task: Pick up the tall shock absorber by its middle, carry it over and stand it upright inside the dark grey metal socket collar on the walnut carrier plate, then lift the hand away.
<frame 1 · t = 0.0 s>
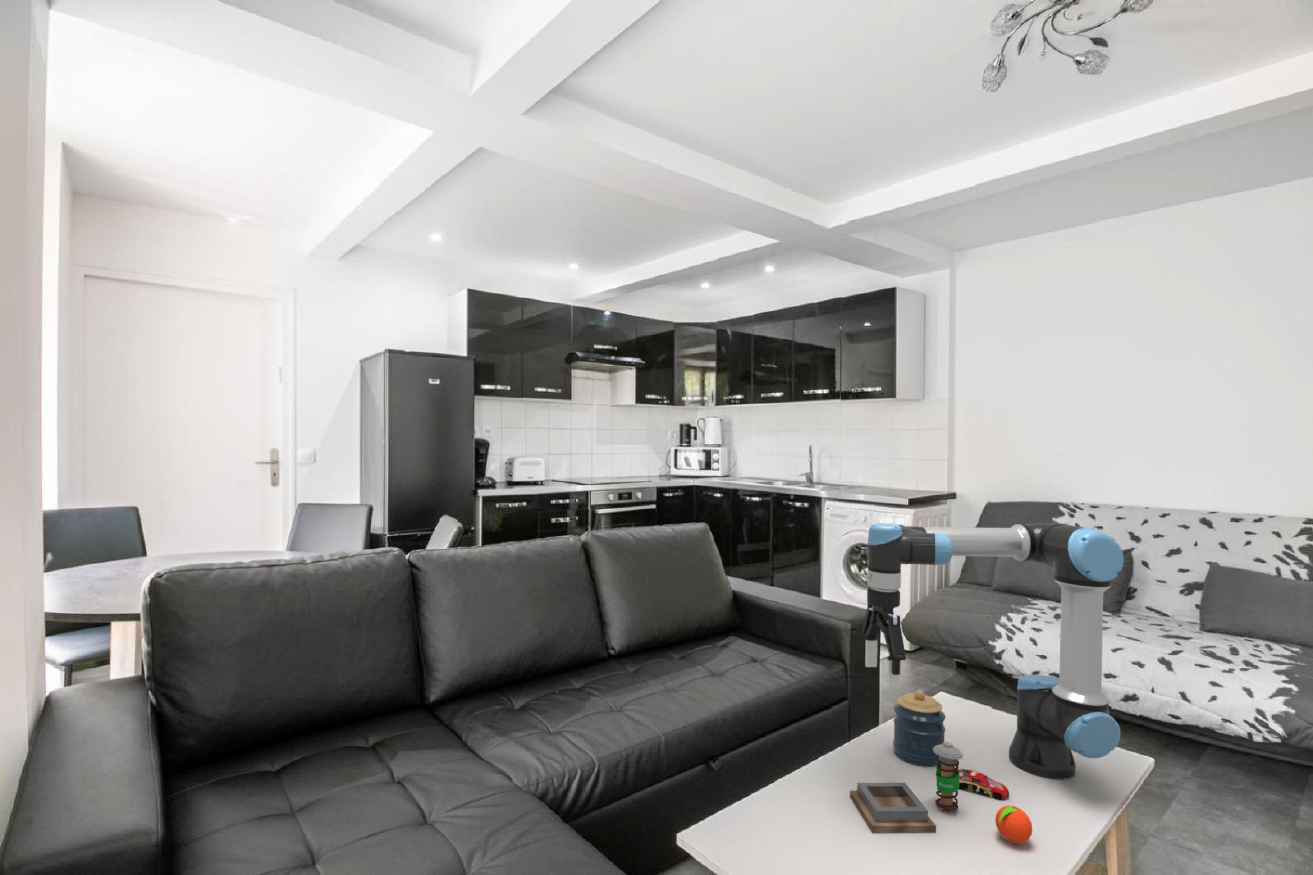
hand: (881, 676, 154), 28 cm above the table, tool pointing down, fingers open, 13 cm apart
race car: (978, 791, 156), on the table
socket collar: (891, 801, 145), on the carrier plate, point 2 cm above the table
clementine: (1011, 842, 136), on the table
shock absorber: (946, 809, 148), on the table
carrier plate: (890, 814, 145), on the table
canister: (918, 756, 173), on the table
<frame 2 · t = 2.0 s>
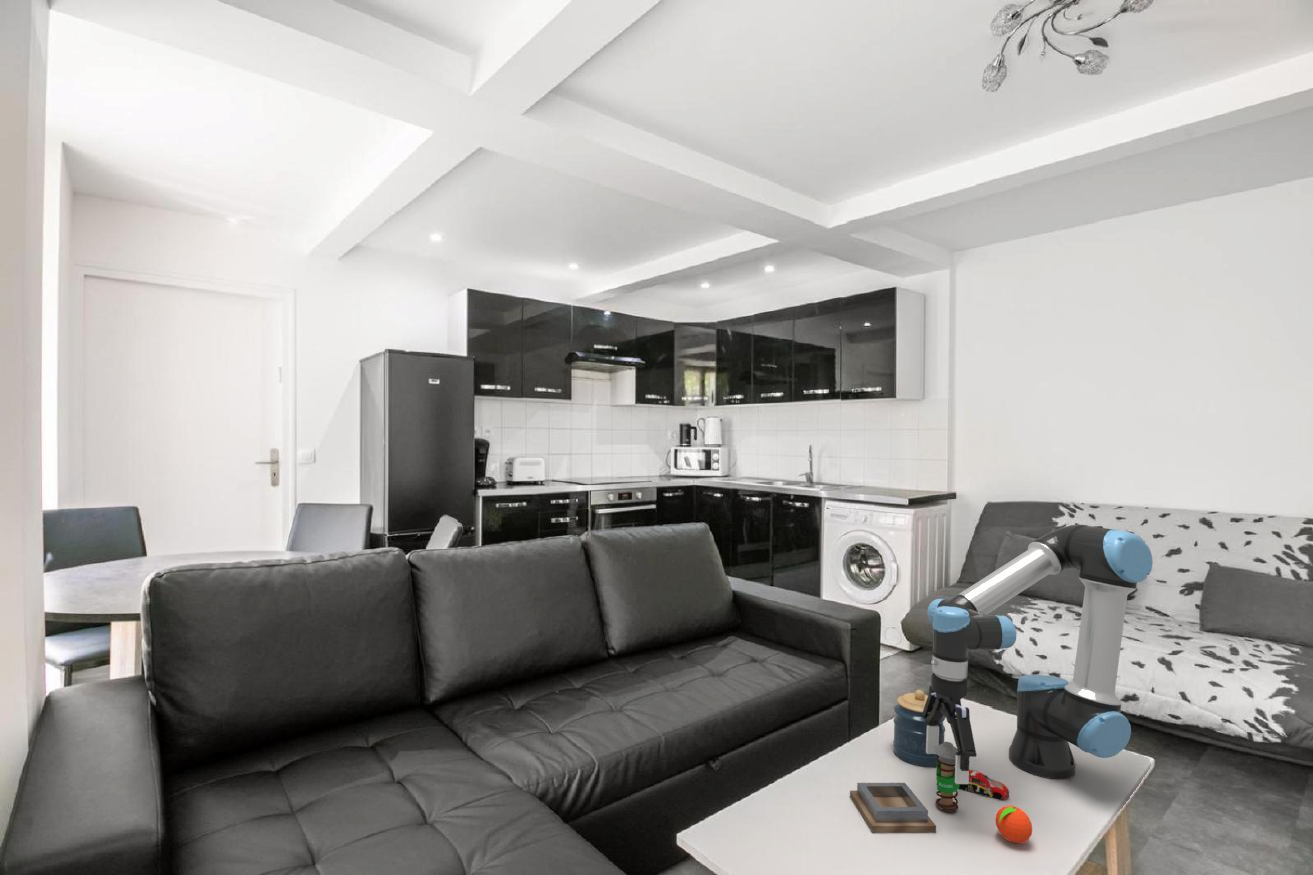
hand: (946, 767, 148), 9 cm above the table, tool pointing down, fingers open, 13 cm apart
nothing on the table moved.
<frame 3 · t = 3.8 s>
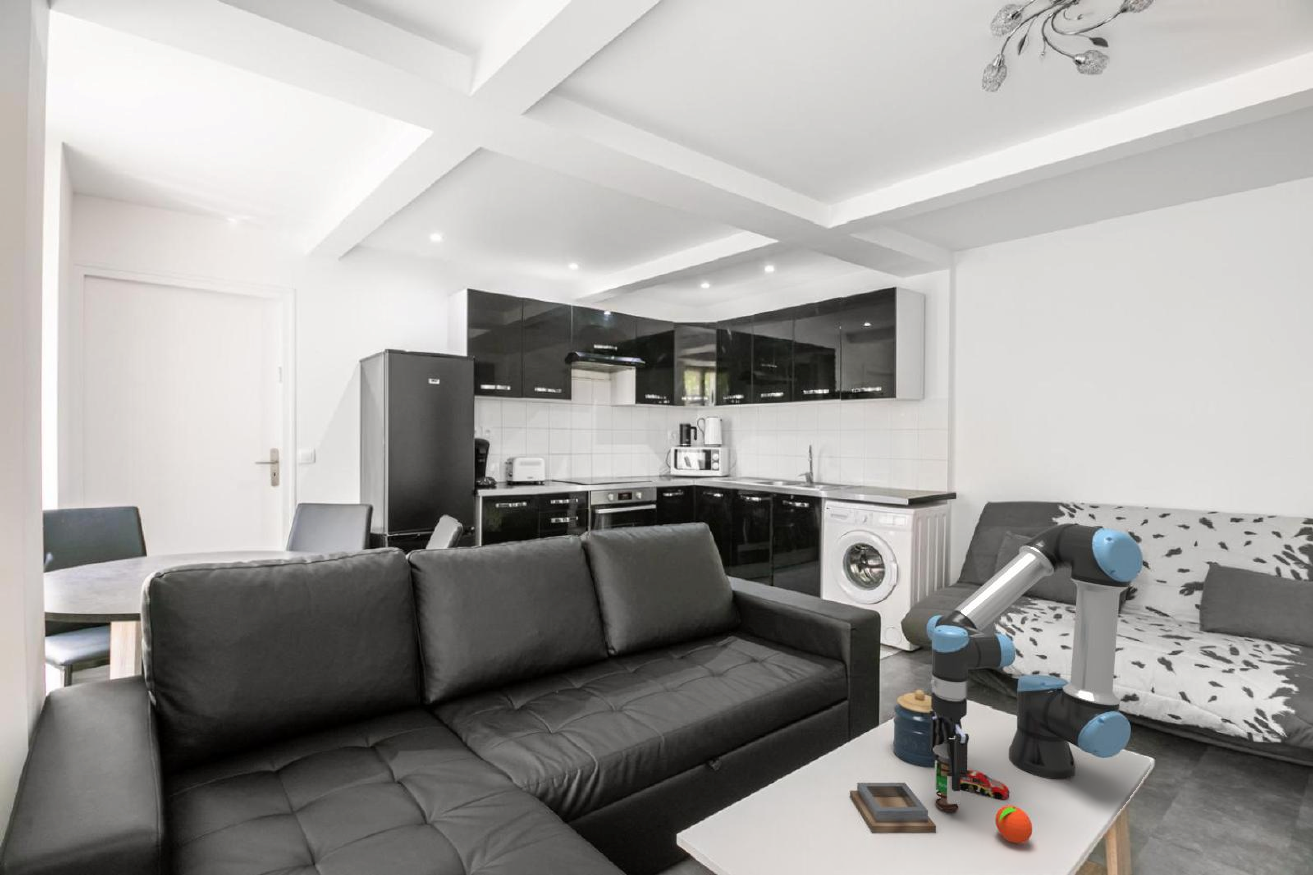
hand: (947, 795, 148), 3 cm above the table, tool pointing down, fingers closed on shock absorber, 5 cm apart
shock absorber: (946, 809, 148), on the table, touching gripper
everything else where it was.
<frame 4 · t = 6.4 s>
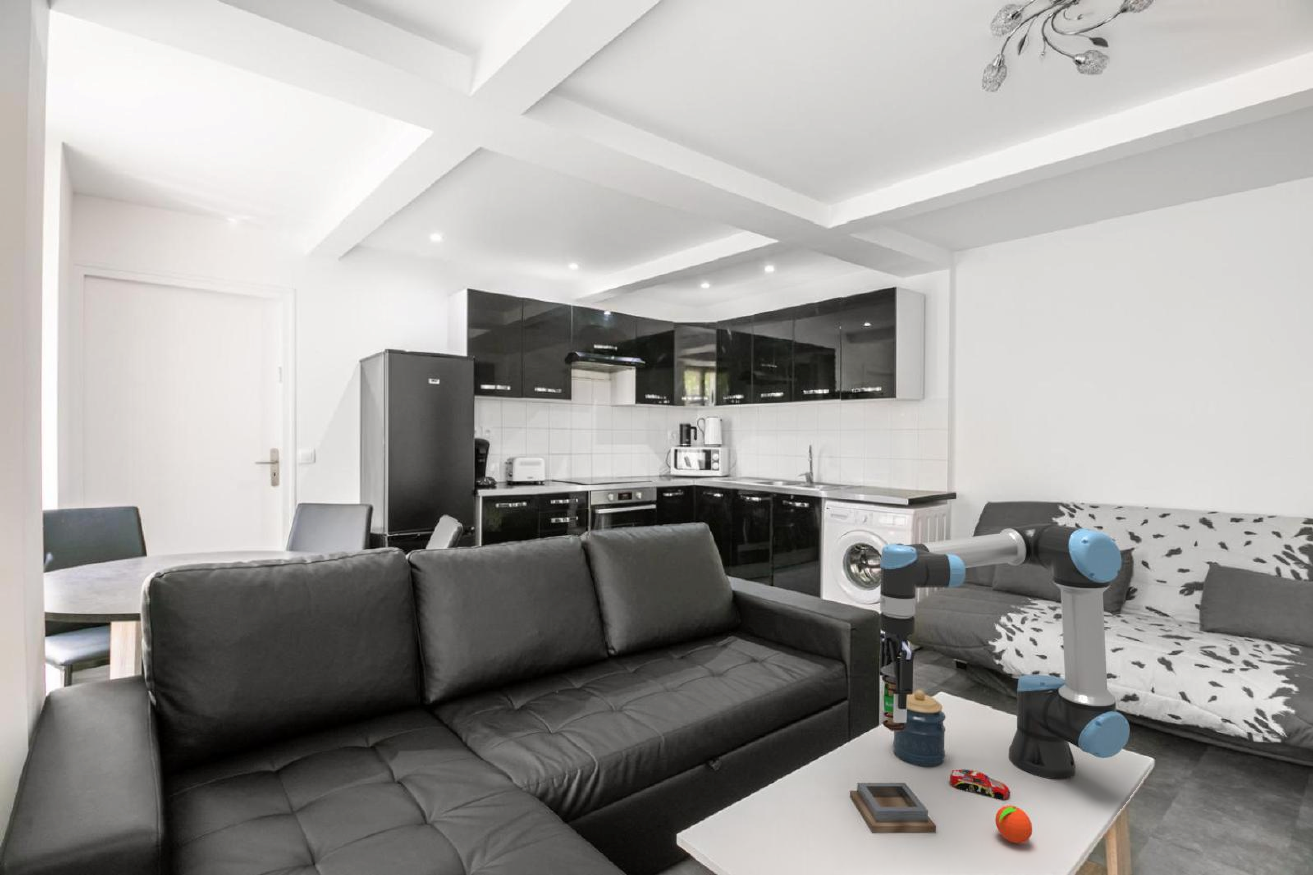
hand: (894, 716, 145), 22 cm above the table, tool pointing down, fingers closed on shock absorber, 5 cm apart
shock absorber: (893, 730, 145), point 19 cm above the table, touching gripper
everything else where it was.
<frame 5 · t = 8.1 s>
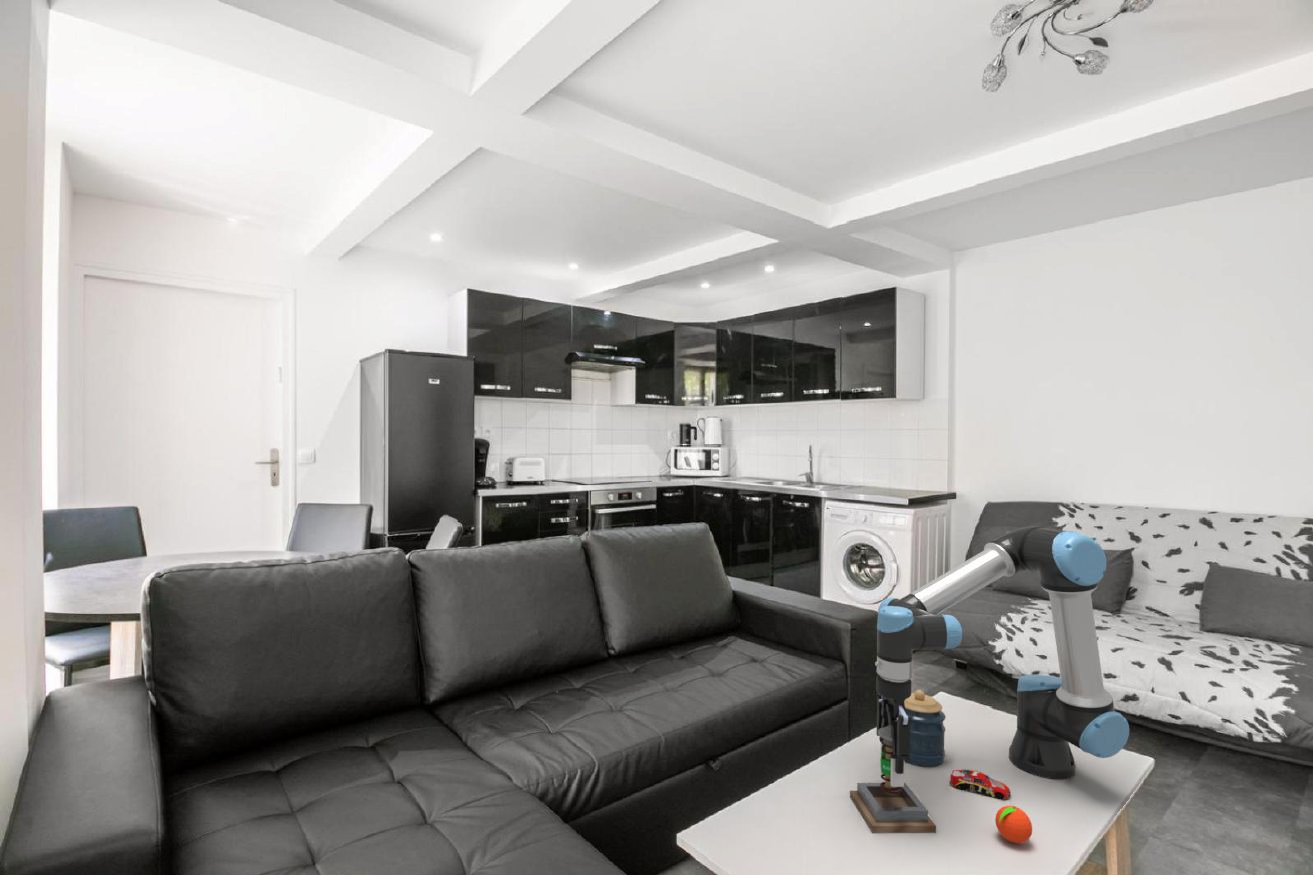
hand: (891, 778, 145), 8 cm above the table, tool pointing down, fingers closed on shock absorber, 5 cm apart
shock absorber: (891, 792, 145), point 5 cm above the table, touching gripper
everything else where it was.
when the fingers open (6 cm above the table, at t = 9.2 s): shock absorber drops 1 cm, resting on carrier plate.
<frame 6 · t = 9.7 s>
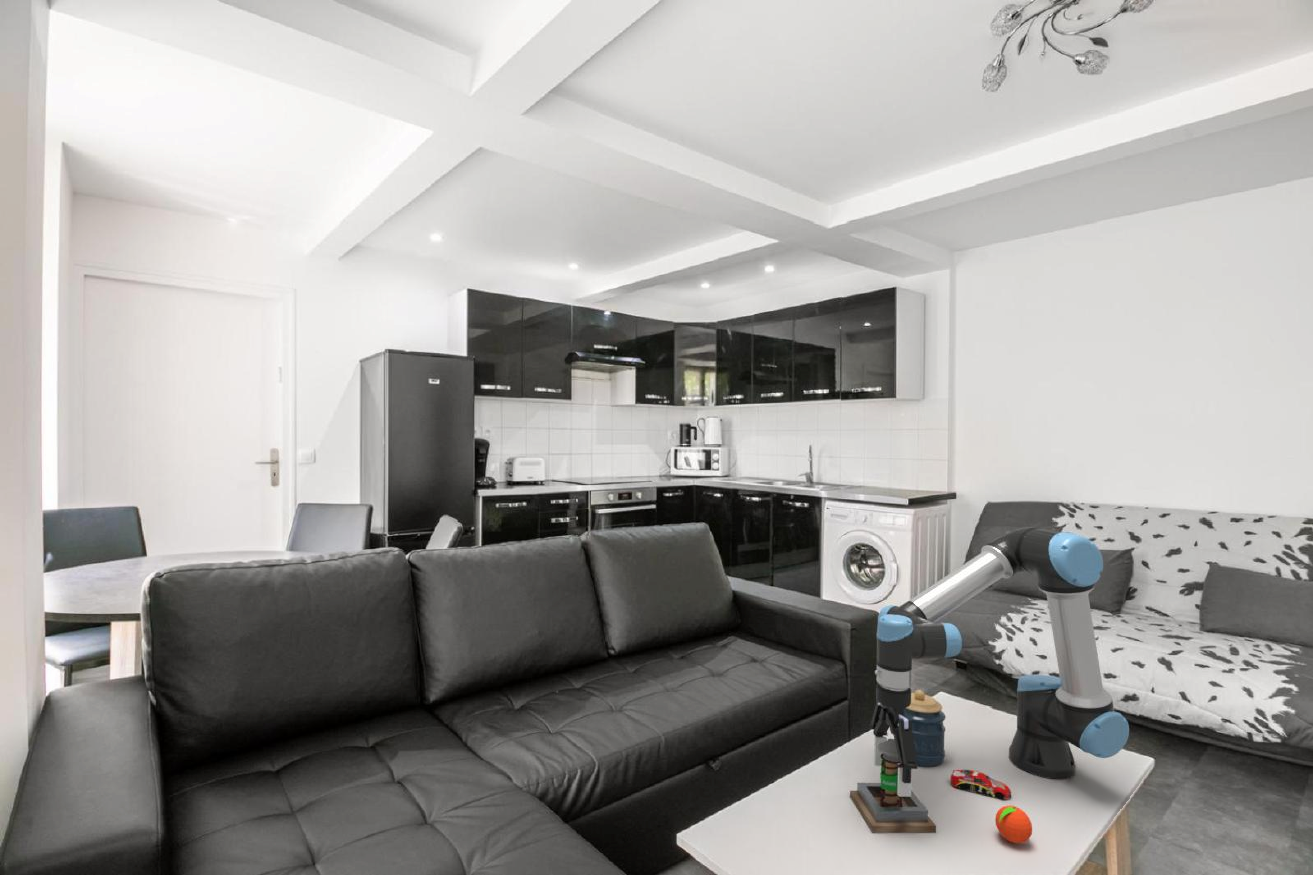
hand: (891, 779, 145), 8 cm above the table, tool pointing down, fingers open, 12 cm apart
shock absorber: (890, 807, 145), point 1 cm above the table, touching carrier plate
everything else where it was.
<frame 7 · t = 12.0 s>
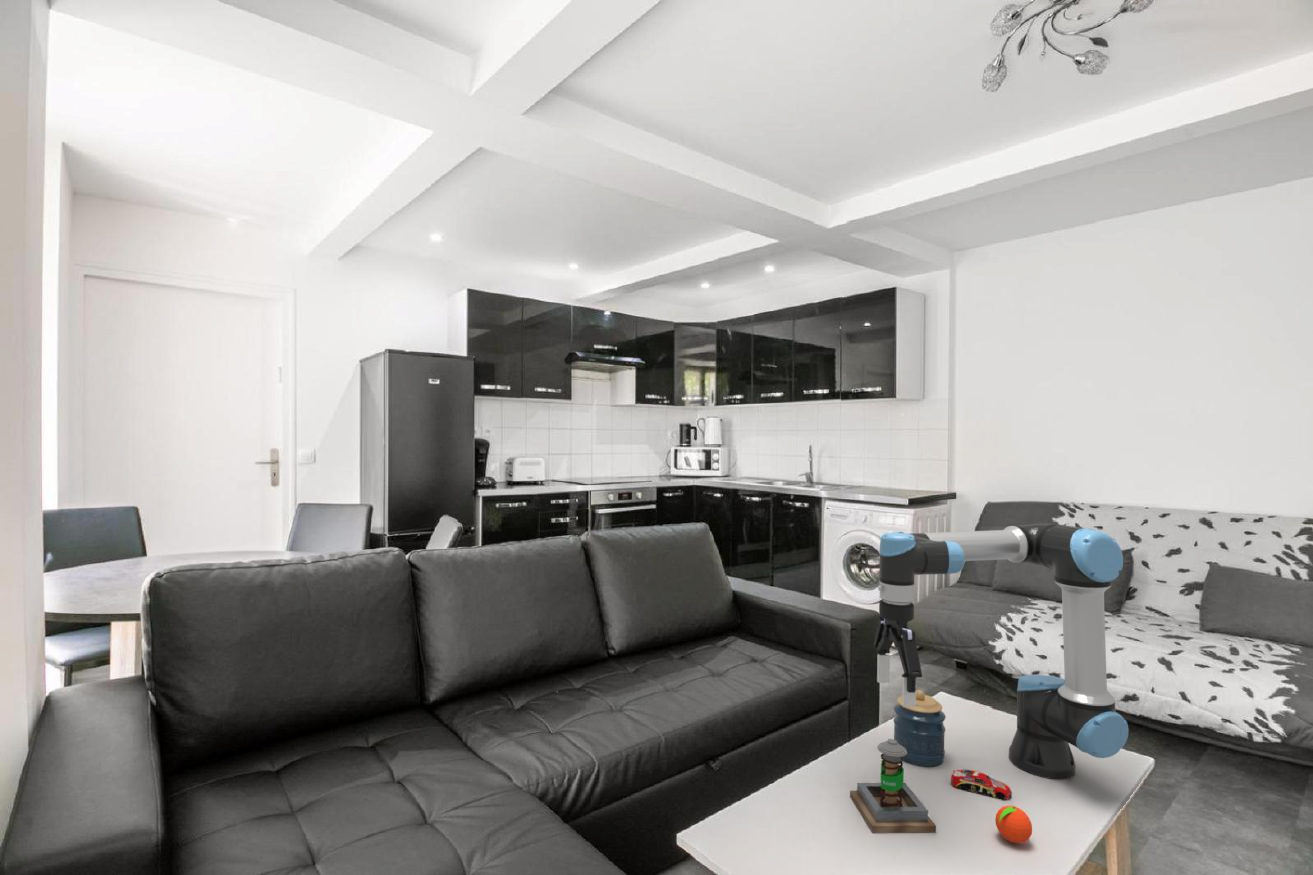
hand: (895, 693, 147), 27 cm above the table, tool pointing down, fingers open, 13 cm apart
nothing on the table moved.
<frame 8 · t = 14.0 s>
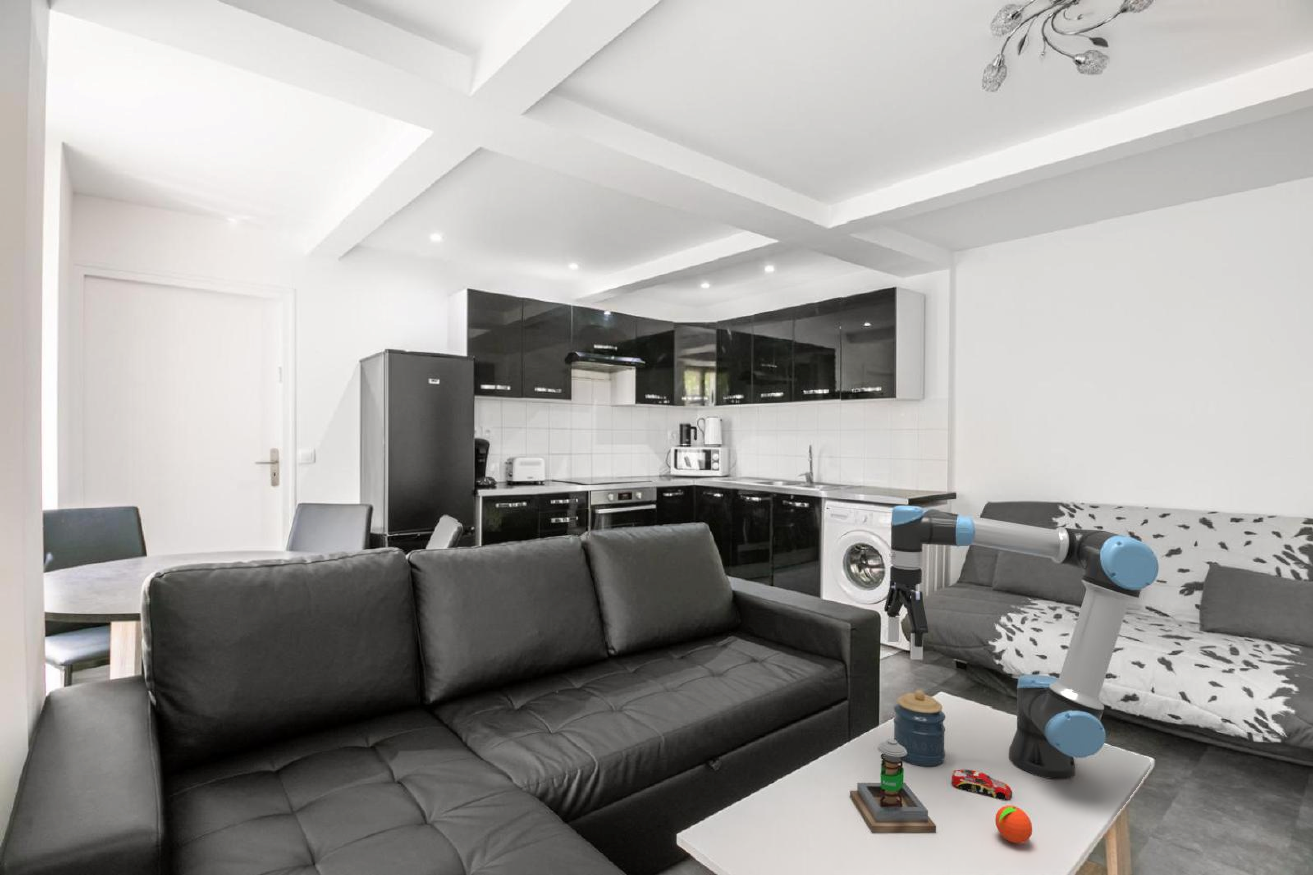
hand: (904, 650, 163), 32 cm above the table, tool pointing down, fingers open, 13 cm apart
nothing on the table moved.
at the end: shock absorber 0.1 cm off-centre on the carrier plate, point 1.3 cm above the carrier plate's base; shock absorber tilted 0°; the gripper is holding nothing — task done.
